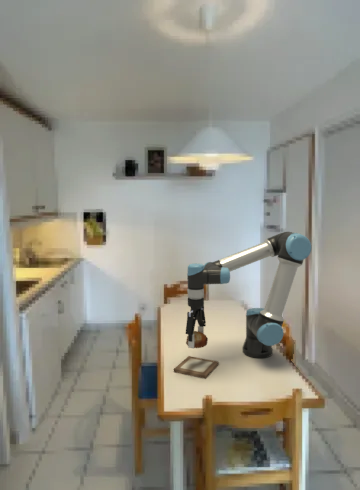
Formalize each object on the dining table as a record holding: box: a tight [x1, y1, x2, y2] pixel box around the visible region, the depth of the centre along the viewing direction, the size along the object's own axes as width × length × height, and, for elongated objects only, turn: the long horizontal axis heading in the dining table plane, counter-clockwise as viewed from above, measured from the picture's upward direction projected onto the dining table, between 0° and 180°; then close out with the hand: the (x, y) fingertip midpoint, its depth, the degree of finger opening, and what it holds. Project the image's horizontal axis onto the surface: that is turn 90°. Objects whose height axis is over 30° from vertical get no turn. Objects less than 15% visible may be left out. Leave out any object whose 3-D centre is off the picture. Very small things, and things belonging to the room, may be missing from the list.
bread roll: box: [185, 330, 209, 349], centre depth 176 cm, size 10×10×8 cm
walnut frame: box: [173, 355, 220, 380], centre depth 177 cm, size 16×16×2 cm
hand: (196, 343), depth 176 cm, fingers closed on bread roll, 10 cm apart
